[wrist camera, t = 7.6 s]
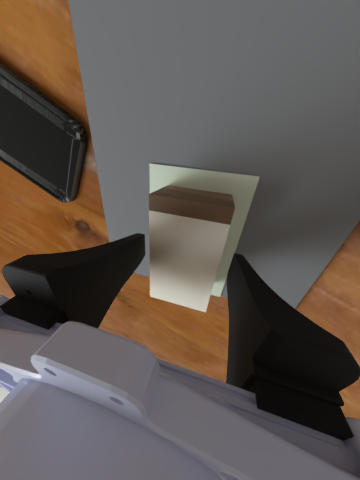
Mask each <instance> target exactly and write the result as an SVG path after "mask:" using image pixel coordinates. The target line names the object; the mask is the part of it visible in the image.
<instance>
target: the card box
mask: <svg viewBox="0 0 360 480" xmlns="http://www.w3.org/2000/svg"><path fill="white" fill-rule="evenodd" d="M234 210H235V205H234V201H233V197H232V195H231V194H224V193H217V192H210V191H204V190H197V189H190V188H183V187H176V186H169V185H167V186H165V187H163V188H161V189H159V190H157V191H154V192H152V193H150V194H149V254H150V297H154V298H157V299H161V300H164V301H168V302H171V303H175V304H178V305H182V306H185V307H189V308H192V309H196V310H199V311H203V312H206V309H207V306H208V302H209V299H210V295H211V292H212V288H213V285H214V281H215V277H216V274H217V270H218V267H219V263H220V260H221V256H222V253H223V249H224V246H225V242H226V239H227V235H228V232H229V228H230V224H231V221H232V217H233V214H234Z"/></svg>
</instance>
